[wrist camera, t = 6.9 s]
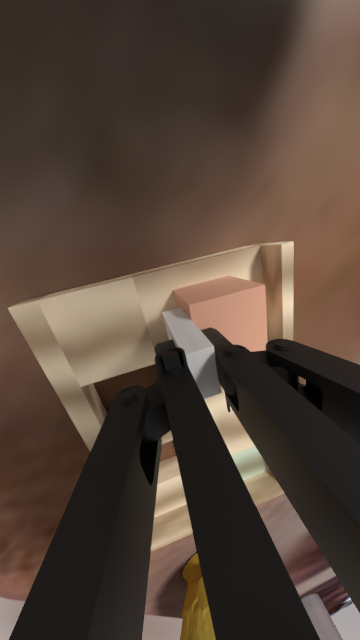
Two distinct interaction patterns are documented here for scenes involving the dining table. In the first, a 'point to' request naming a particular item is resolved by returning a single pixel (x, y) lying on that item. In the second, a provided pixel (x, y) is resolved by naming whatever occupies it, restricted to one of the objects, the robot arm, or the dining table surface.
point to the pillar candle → (320, 618)
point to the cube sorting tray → (152, 354)
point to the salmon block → (228, 309)
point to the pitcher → (195, 605)
